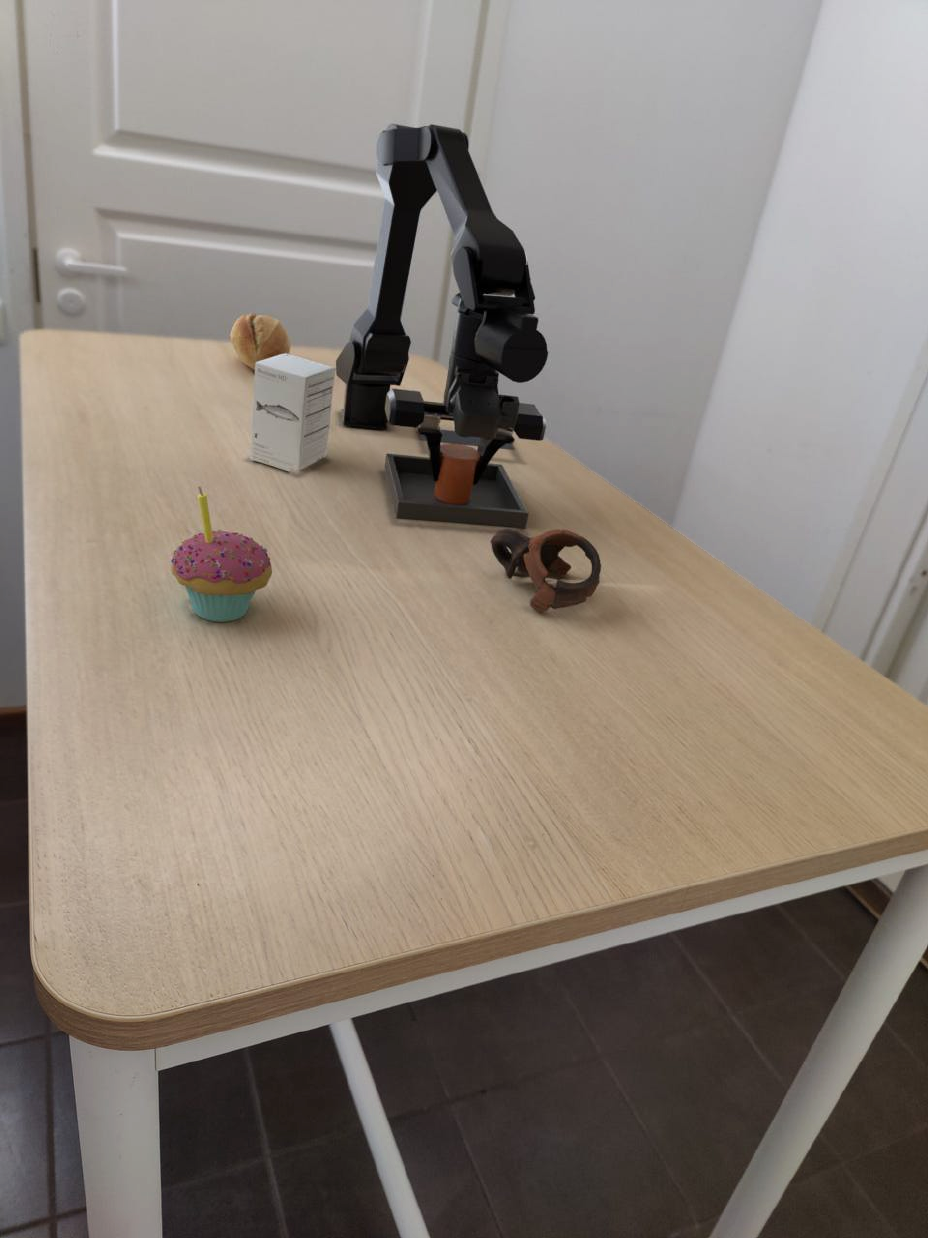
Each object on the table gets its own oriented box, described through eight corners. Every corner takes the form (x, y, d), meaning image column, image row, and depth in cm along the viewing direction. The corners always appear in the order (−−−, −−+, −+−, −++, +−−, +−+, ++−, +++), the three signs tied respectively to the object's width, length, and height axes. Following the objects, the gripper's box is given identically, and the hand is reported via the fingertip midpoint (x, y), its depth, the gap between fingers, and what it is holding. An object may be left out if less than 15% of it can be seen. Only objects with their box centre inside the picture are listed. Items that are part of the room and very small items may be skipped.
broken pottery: (588, 584, 98) (619, 543, 91) (563, 650, 93) (593, 613, 86) (492, 535, 97) (516, 491, 90) (461, 598, 92) (483, 557, 85)
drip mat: (425, 453, 124) (426, 450, 124) (417, 429, 133) (417, 426, 132) (520, 462, 127) (521, 459, 127) (506, 438, 136) (506, 436, 136)
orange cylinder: (434, 503, 107) (441, 456, 104) (428, 486, 111) (435, 441, 108) (475, 507, 108) (484, 461, 105) (468, 490, 113) (476, 445, 110)
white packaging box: (247, 460, 111) (252, 360, 105) (279, 446, 117) (285, 351, 111) (298, 477, 109) (306, 376, 103) (328, 461, 115) (337, 365, 109)
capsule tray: (395, 524, 102) (398, 502, 101) (383, 473, 115) (386, 453, 114) (524, 534, 105) (528, 513, 104) (498, 483, 119) (502, 464, 117)
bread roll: (235, 376, 141) (236, 325, 137) (225, 350, 152) (226, 302, 149) (295, 380, 144) (298, 330, 140) (281, 354, 156) (283, 308, 152)
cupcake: (182, 637, 75) (183, 508, 69) (162, 589, 81) (161, 467, 75) (280, 626, 79) (289, 504, 73) (254, 581, 85) (260, 465, 79)
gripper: (402, 364, 92) (385, 501, 100) (570, 385, 96) (541, 515, 104) (392, 338, 102) (377, 465, 109) (546, 358, 106) (520, 478, 114)
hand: (454, 481), depth 109 cm, fingers closed on orange cylinder, 4 cm apart
